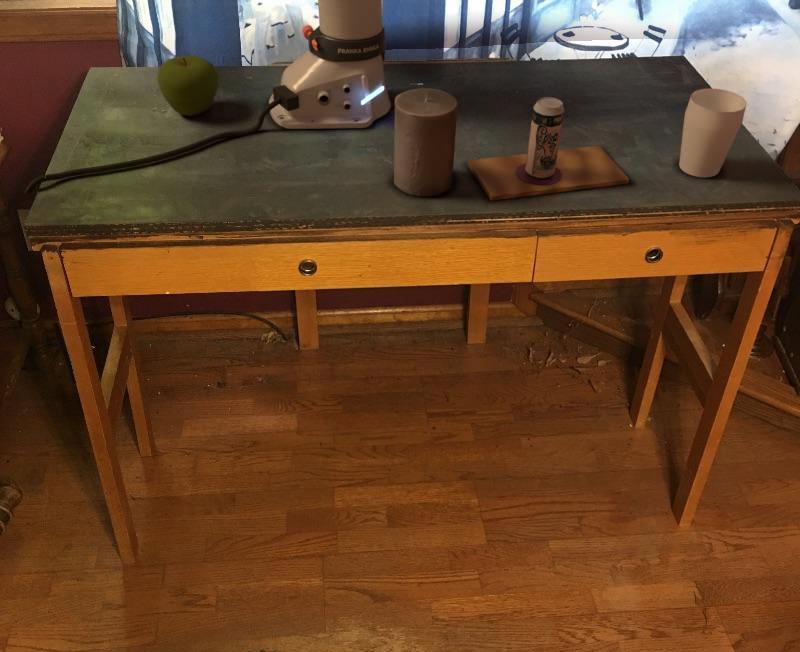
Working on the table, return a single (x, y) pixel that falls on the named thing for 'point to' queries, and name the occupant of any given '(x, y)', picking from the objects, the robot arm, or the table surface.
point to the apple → (188, 84)
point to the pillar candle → (424, 141)
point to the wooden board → (570, 174)
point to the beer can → (544, 137)
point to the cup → (710, 130)
